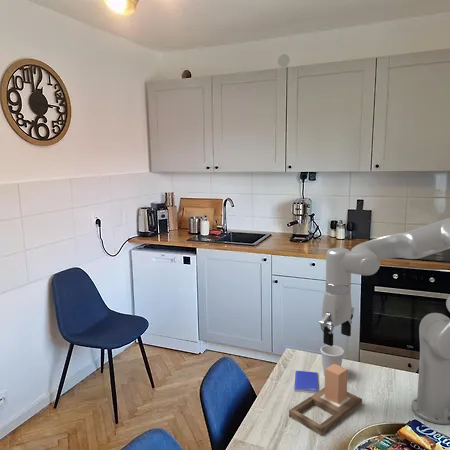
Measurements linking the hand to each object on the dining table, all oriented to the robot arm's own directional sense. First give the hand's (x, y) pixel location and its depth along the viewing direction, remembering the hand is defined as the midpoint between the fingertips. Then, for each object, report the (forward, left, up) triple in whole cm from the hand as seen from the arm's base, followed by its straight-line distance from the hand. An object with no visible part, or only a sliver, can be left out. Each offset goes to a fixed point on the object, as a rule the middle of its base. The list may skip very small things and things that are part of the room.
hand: (337, 339), depth 126 cm
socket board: (0, +5, -22) cm, 23 cm away
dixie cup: (+11, -14, -22) cm, 29 cm away
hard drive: (+14, -3, -23) cm, 27 cm away
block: (0, 0, -20) cm, 20 cm away
